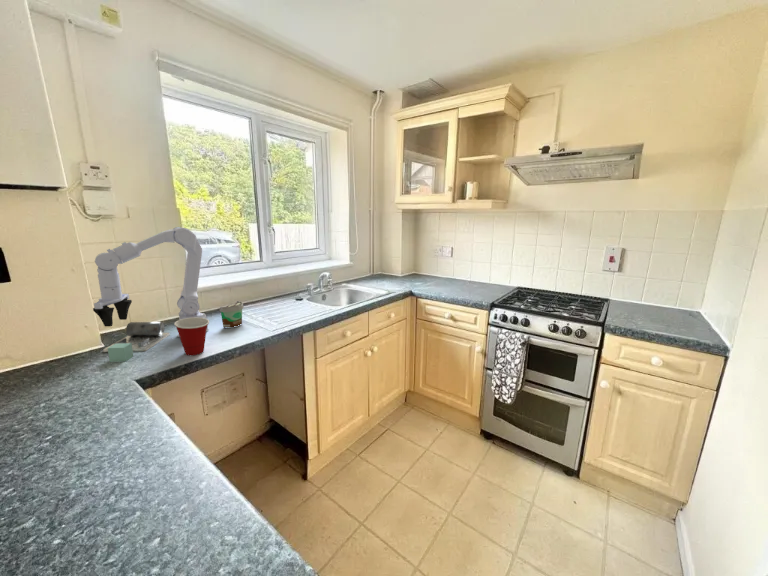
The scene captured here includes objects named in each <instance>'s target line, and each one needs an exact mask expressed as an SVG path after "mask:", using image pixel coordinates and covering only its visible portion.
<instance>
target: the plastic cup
mask: <svg viewBox="0 0 768 576" xmlns="http://www.w3.org/2000/svg"><path fill="white" fill-rule="evenodd" d="M209 324H210V320H209V319H208V318H207V319H205V318H197V317H194V318H185V319H181V320H179V319H178V320H176V321H174V326H175V328H176V330H177V333H178V334H179V336H180V337H179V339H180V342H181V345H182V347H183V350H184V353H185V355H187V356H190V355H191V356H198V355H201V354H202V352H203V351H204V350H205V343H206V337H207V332H206V330H207V326H208V325H209ZM200 353H201V354H200ZM203 353H204V352H203ZM197 354H198V355H197Z"/></svg>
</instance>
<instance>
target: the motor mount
mask: <svg viewBox="0 0 768 576" xmlns="http://www.w3.org/2000/svg"><path fill="white" fill-rule="evenodd" d="M124 331H125V332H126V335H127V336H125V337H123V338H121V339H120V340H117V341H115V342H114V343H112V344H110V345H109V346H107V347H104V348H103V349H102V352H103V353H108V348H109V347H110V346H112V345H114V344H120V343H132V349H133V352H146V351H148V350H149V349H151V348H153V347H154V346H156V345H157V344H159V343H160V342H162V341H163V340H164V339H166V338H167V337H169V336H170V334H171V333H170V332H165V323H164V322H162V321H130V322H129V323H128V324H127V325H126V327H125V328H124Z"/></svg>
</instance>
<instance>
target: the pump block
mask: <svg viewBox="0 0 768 576" xmlns="http://www.w3.org/2000/svg"><path fill="white" fill-rule="evenodd" d="M113 344H114V343H113ZM111 345H112V344H111ZM109 346H110V345H109ZM107 354H108V358H109V359H108V360H109V363H111V362H112V363H115V362H116V363H117V362H118V363H119V362H120V363H121V362H127V361H130V359H132V358H133V357H134V351H133V349H132V343H120V344H114V345H112V346H110V347H109V348H108V352H107Z"/></svg>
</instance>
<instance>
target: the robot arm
mask: <svg viewBox="0 0 768 576" xmlns="http://www.w3.org/2000/svg"><path fill="white" fill-rule="evenodd" d="M164 243H177V244H179V245H180V246H181V247H182V248H183V249H184V250H185V251H186V252H187V254H186V263H185V265H186V266H185V272H184V278H183V279H184V280H183V285H182V286H183V288H182V290H181V293H180V297H179V298H178V299H177V303H176V305H177V307H178V309H179V312H178V318H179V319H178V320H181V319H185V318H194V317H197V318H205V319H208V318H207V314H206V313H202V312H200V303H199V300H198V299H199V295H198V286H199V279H200V269H201V264H202V257H203V255H202V254H203V247H202V245H201V244H200V242H199V240H198V239H197V235H196V234H195V233H194V232H193V231H192V230H190V229H189V228H186V227H181V226H178V227H174V228H169V229H166V230H163V231H161V232H158V233H157V234H154V235H152V236H149V237H148V238H145V239H143V240H141V241H139V242H137V243H135V242H131V241H129V242H125V241H124V242H122V243H121V245H120V246H116V247H114V248H112V249H110V248H108V249H106V251H105V252H104V251H103V252H101V253H99V254H98V253H97V255H96V256H95V258H94V259H95V260H94V263H95V264H96V267H97V271H96V272H97V273H98V274H97V279H98V285H99V289H100V290H99V292H100V298H98V301H97V302H94V303H93V308H92V311H93V312H94V313H95V314H97V316H98V317H99V319H100V320H101V321H102V323H103V326H104V327H112V326H113V320H114V319H113V316H114V315H113V313H114V310H116V313H117V317H118V319H119V321H121V320H122V321H123V320H124V321H126V320H127V319H128V315H129V309H130V306H131V305H132V301H133V300H132V299H130V294H129V293H123V292H122V285H121V278H120V273H119V272H118V265H122V264H125V263H127V262H129V261H131V260H134V259H136V258H139V257H140V256H141V254H142V252H143V251H145V250H148V249H151V248H153V247H155V246H158V245H160V244H164ZM111 305H114V307H110V306H111ZM209 330H210V329H209V328H208V326H207V330H206V333H207V332H208V331H209ZM176 337H178V338H180V336H179V333H178V334H177V335H176Z"/></svg>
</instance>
